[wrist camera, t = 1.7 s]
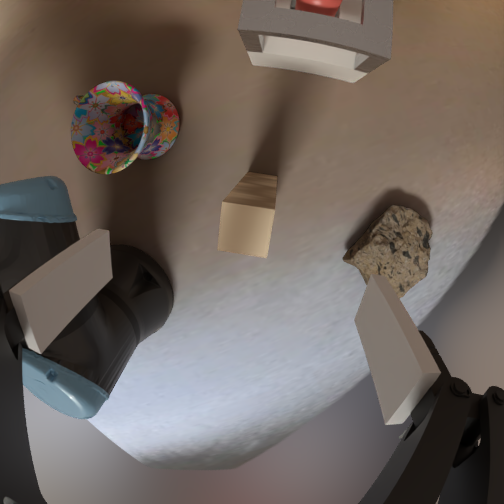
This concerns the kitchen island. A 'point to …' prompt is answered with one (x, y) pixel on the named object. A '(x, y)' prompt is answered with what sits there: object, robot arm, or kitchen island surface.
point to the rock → (394, 249)
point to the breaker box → (312, 50)
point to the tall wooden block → (248, 216)
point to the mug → (121, 126)
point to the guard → (322, 29)
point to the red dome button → (319, 6)
